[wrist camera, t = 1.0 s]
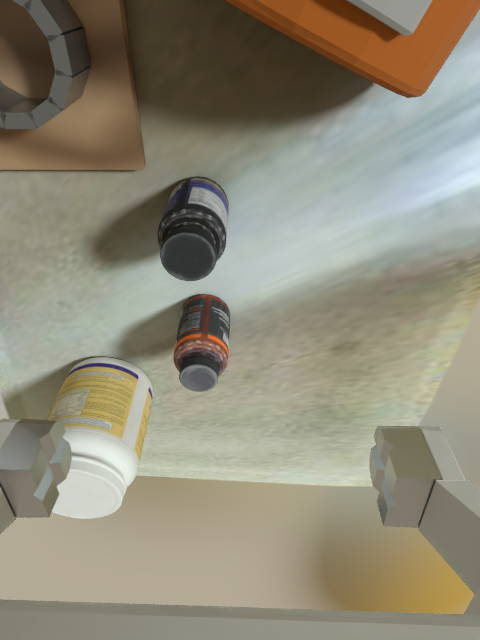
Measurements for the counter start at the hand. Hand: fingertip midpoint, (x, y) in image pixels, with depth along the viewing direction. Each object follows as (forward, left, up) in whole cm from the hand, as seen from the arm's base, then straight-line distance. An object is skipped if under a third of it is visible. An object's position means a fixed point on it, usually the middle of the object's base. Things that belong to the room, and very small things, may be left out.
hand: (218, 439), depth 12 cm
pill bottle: (+9, -4, -36) cm, 37 cm away
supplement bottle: (+23, -4, -36) cm, 43 cm away
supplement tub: (+36, -18, -36) cm, 54 cm away
